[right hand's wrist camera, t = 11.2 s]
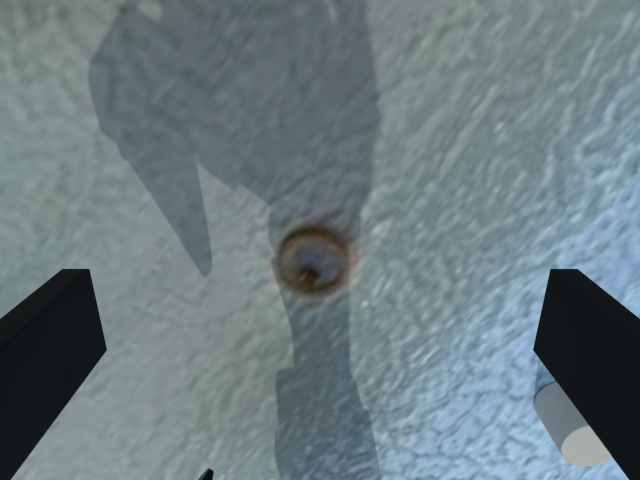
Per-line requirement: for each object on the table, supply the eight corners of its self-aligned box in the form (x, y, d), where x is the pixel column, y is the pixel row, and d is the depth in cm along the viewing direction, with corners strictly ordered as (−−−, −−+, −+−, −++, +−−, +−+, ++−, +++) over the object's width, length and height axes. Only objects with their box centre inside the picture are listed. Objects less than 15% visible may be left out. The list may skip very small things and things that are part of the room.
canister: (527, 391, 37) (554, 436, 33) (577, 373, 36) (612, 416, 32) (541, 426, 39) (569, 474, 34) (590, 409, 38) (625, 455, 33)
